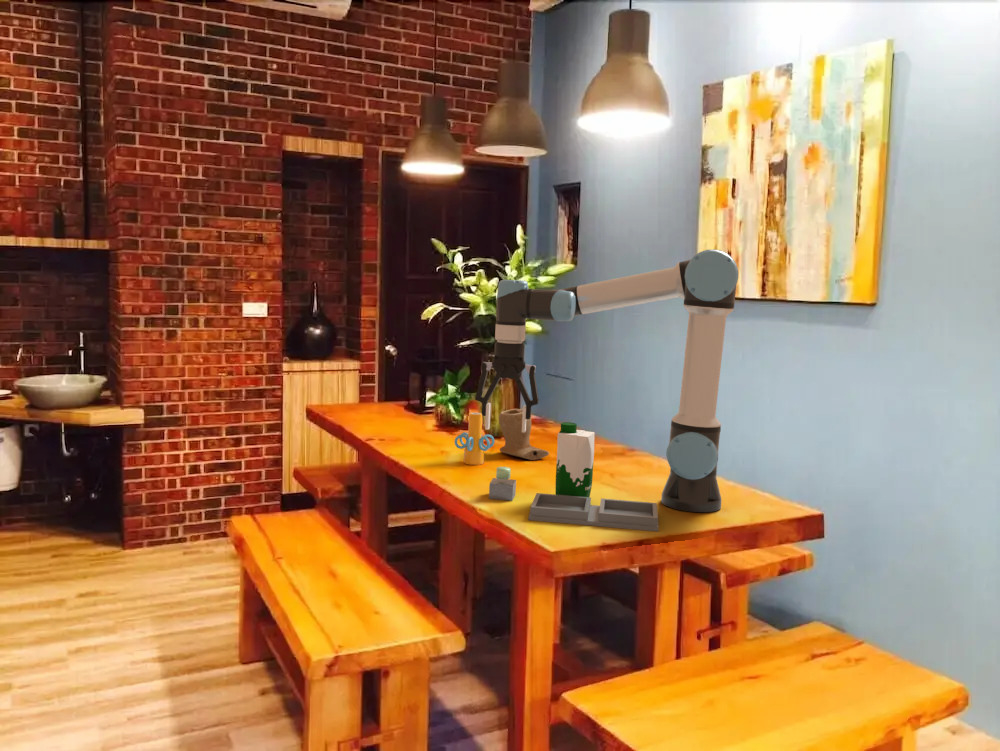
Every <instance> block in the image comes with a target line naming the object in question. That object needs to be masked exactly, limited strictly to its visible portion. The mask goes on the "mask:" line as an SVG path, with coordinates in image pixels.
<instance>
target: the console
mask: <svg viewBox="0 0 1000 751" xmlns="http://www.w3.org/2000/svg"><path fill="white" fill-rule="evenodd" d="M516 488H517V479H511V478H510V479H498V478H496V477H492V479H491V481H490V482H489V490H488V499H489V500H496V501H497V500H498V501H499V500H500V501H510V502H511V501H512V502H513V500H514V499H515V497H516Z"/></svg>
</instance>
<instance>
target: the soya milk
mask: <svg viewBox="0 0 1000 751" xmlns="http://www.w3.org/2000/svg"><path fill="white" fill-rule="evenodd" d="M577 427H578V425H577V423H575V422H570V421H569V422H561V423H560V430H559V432H558V433H557V448H556V450H557V451H556V465H555V466H556V467H555V469H556V470H555V495H566V496H578V497H590V498H591V491H592V486H593V477H594V476H593V471H594V460H595V458H594V457H595V434H596V433H595V432H594V431H589V430H588V431H587V430H585V429H584V430H582V429H577Z"/></svg>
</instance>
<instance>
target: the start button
mask: <svg viewBox="0 0 1000 751" xmlns="http://www.w3.org/2000/svg"><path fill="white" fill-rule="evenodd" d="M511 470H512V469H511V467H507V466H498V467H496V472H495V474H496V475H495V478H498V479H511V472H512V471H511Z"/></svg>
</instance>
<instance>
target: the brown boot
mask: <svg viewBox="0 0 1000 751" xmlns="http://www.w3.org/2000/svg"><path fill="white" fill-rule="evenodd" d="M522 416H523V409H520V408H511V409H507V410H503V411H501V412H500V413H499V415H498V421H499V427H500V430H501V432H502V435H503V438H504V445H503V446H502V447H500V448H499V451H500V452H501V453H503V454H506V455H508V456H513V457H518V458H521V459H527V460H531V461H536V460H537V461H538V460H540V459H544V458H545V457H548V456H549V454H550V452H549V451H548V450H545V449H542V448H539V447H535V446H532V445H531V444H530V438H531V437H530V436H531V430H532V416H531V417H530V419H527V420H526V431H525V433H524V432H522Z"/></svg>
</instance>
